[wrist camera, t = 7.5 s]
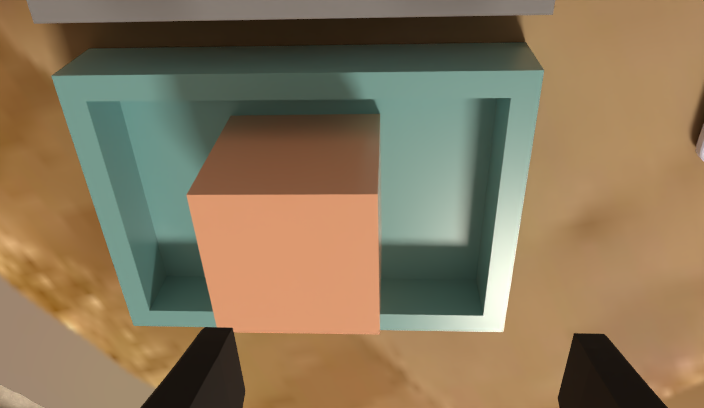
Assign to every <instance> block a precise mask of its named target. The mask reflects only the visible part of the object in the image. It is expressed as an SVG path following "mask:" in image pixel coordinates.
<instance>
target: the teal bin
mask: <svg viewBox="0 0 704 408" xmlns="http://www.w3.org/2000/svg"><path fill="white" fill-rule="evenodd" d="M543 74H544V69H543V68H542V66H541V65H540V63H539V62H538V60H537V59H536V57H535V56H534V54H533V53H532V51H531V49H530V48H529V46H528V45H527V43H526V42H513V43H443V44H372V45H302V46H231V47H161V48H90V49H88V50H87V51H85V52H84V53H82V54H81V55H80V56H78V57H77V58H75V59H74V60H73V61H71V62H70V63H69V64H67V65H66V66H64V67H63V68H62V69H60V70H59V71H57V72H56V73H55V74H53V75H52V79H53V82H54V85H55V88H56V91H57V94H58V97H59V100H60V103H61V106H62V109H63V112H64V116H65V119H66V122H67V125H68V128H69V131H70V134H71V137H72V140H73V143H74V146H75V149H76V152H77V155H78V158H79V161H80V164H81V167H82V170H83V173H84V176H85V179H86V182H87V185H88V188H89V191H90V194H91V197H92V200H93V204H94V207H95V210H96V213H97V216H98V219H99V222H100V225H101V228H102V231H103V234H104V237H105V240H106V243H107V246H108V249H109V252H110V255H111V258H112V261H113V264H114V267H115V270H116V273H117V276H118V279H119V282H120V285H121V288H122V292H123V295H124V298H125V301H126V304H127V307H128V310H129V313H130V316H131V319H132V322H133V325H134V326H180V327H217V326H216V322H215V317H214V313H213V309H212V304H211V300H210V296H209V291H208V287H207V283H206V278H205V274H204V270H203V265H202V261H201V256H200V252H199V248H198V243H197V239H196V235H195V230H194V226H193V222H192V217H191V213H190V209H189V204H188V200H187V193H188V191H189V189H190V188H191V186H192V184H193V182H194V180H195V179H196V177H197V175H198V173H199V171H200V170H201V168H202V166H203V164H204V162H205V161H206V159H207V157H208V155H209V154H210V152H211V150H212V148H213V146H214V145H215V143H216V141H217V139H218V137H219V136H220V134H221V132H222V130H223V129H224V127H225V125H226V123H227V121H228V120H229V118H230V116H240V115H322V114H380V130H381V217H382V249H381V303H380V330H414V331H473V332H503V330H504V324H505V317H506V311H507V305H508V298H509V292H510V285H511V279H512V273H513V266H514V260H515V253H516V247H517V241H518V234H519V228H520V221H521V215H522V209H523V202H524V196H525V189H526V183H527V177H528V170H529V164H530V157H531V151H532V145H533V138H534V132H535V125H536V119H537V113H538V106H539V100H540V93H541V87H542V81H543Z"/></svg>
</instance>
